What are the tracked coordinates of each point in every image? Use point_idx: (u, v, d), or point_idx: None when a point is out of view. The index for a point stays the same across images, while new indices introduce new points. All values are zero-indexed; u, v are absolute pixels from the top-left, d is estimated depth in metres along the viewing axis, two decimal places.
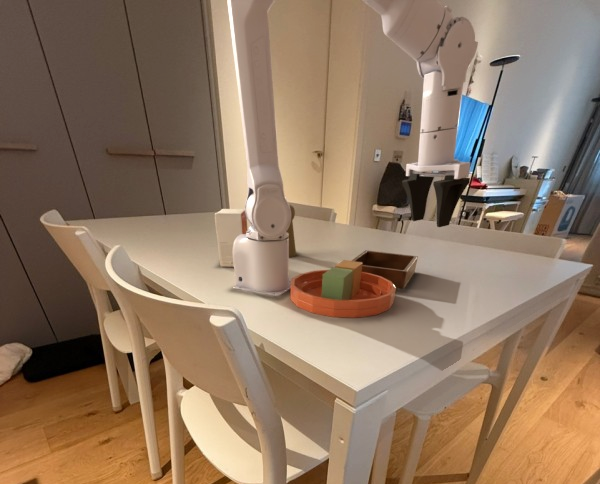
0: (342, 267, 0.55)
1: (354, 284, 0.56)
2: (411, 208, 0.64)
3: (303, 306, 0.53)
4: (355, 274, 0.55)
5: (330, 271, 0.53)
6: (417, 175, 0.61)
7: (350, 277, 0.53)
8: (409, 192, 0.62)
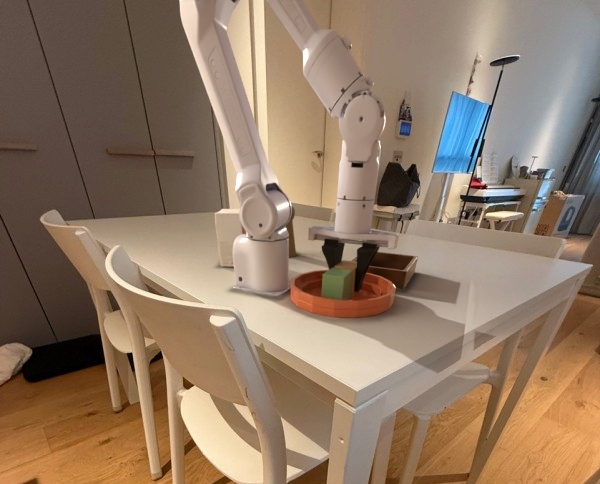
0: (342, 267, 0.55)
1: (354, 284, 0.56)
2: None
3: (303, 306, 0.53)
4: (355, 274, 0.55)
5: (330, 271, 0.53)
6: (327, 240, 0.55)
7: (350, 277, 0.53)
8: (332, 259, 0.55)
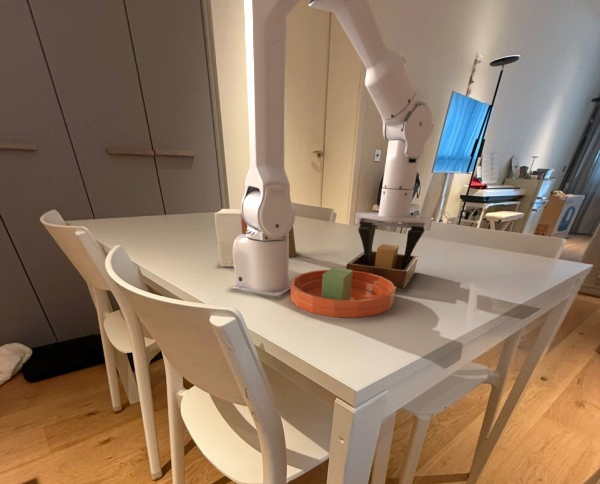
0: (383, 249, 0.67)
1: (392, 263, 0.68)
2: (366, 252, 0.69)
3: (303, 306, 0.53)
4: (394, 255, 0.67)
5: (330, 271, 0.53)
6: (371, 224, 0.66)
7: (350, 277, 0.53)
8: (366, 238, 0.67)
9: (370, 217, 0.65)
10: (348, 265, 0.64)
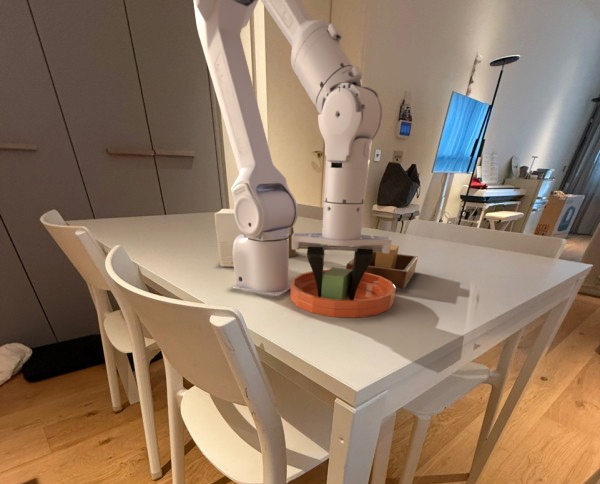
0: None
1: (392, 263, 0.68)
2: (319, 285, 0.52)
3: (303, 306, 0.53)
4: (394, 255, 0.67)
5: (330, 271, 0.53)
6: (313, 248, 0.50)
7: (350, 277, 0.53)
8: (319, 268, 0.50)
9: (313, 240, 0.49)
10: (348, 265, 0.64)
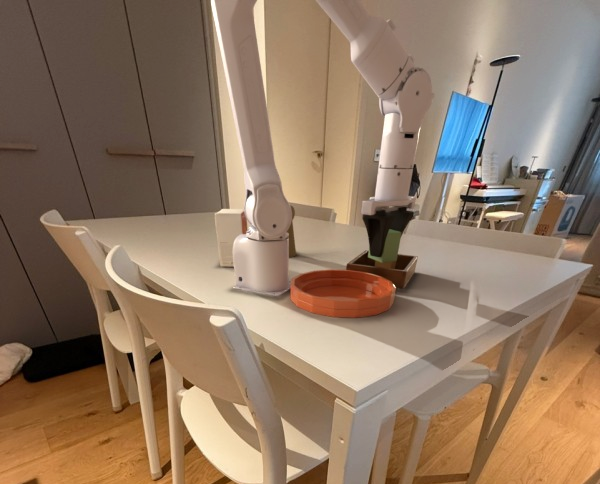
0: None
1: (392, 263, 0.68)
2: (383, 244, 0.61)
3: (303, 306, 0.53)
4: None
5: None
6: (380, 212, 0.57)
7: None
8: (388, 228, 0.59)
9: (387, 204, 0.56)
10: (348, 265, 0.64)
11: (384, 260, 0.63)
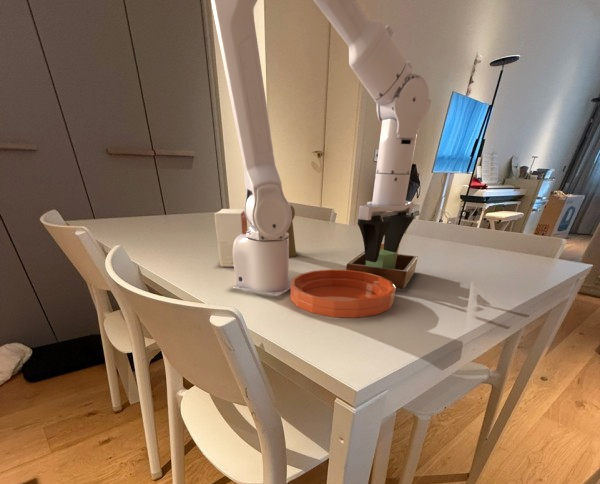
0: None
1: None
2: (379, 249, 0.61)
3: (303, 306, 0.53)
4: None
5: None
6: (377, 217, 0.58)
7: None
8: (383, 233, 0.59)
9: (384, 209, 0.56)
10: (348, 265, 0.64)
11: None
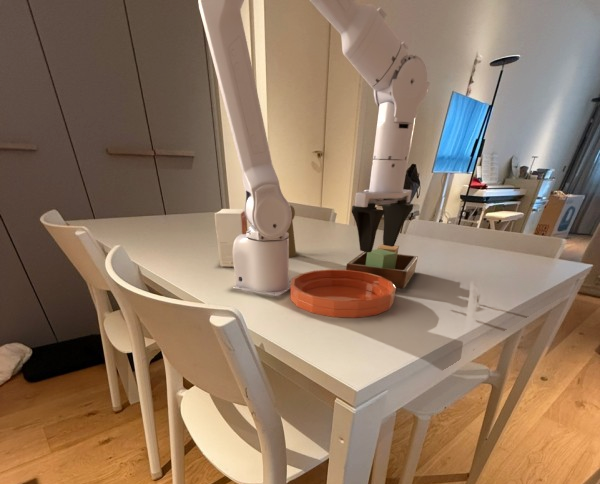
0: (383, 249, 0.67)
1: None
2: (373, 239, 0.59)
3: (303, 306, 0.53)
4: None
5: (378, 252, 0.63)
6: (374, 204, 0.56)
7: None
8: (378, 222, 0.57)
9: (381, 196, 0.55)
10: (348, 265, 0.64)
11: None
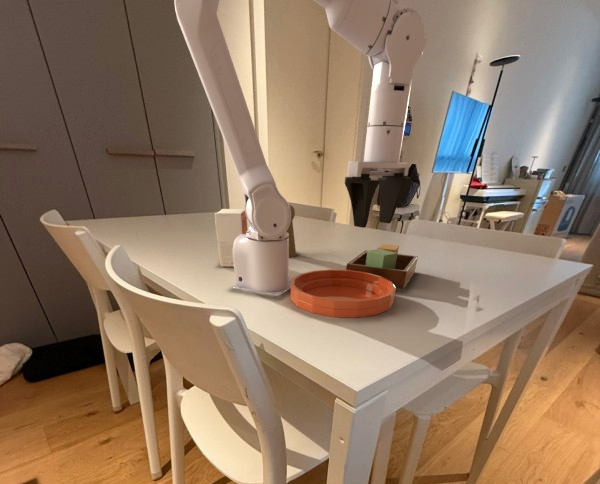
0: (383, 249, 0.67)
1: None
2: (367, 213, 0.56)
3: (303, 306, 0.53)
4: None
5: (378, 252, 0.63)
6: (368, 175, 0.53)
7: None
8: (372, 194, 0.54)
9: (375, 165, 0.52)
10: (348, 265, 0.64)
11: None
